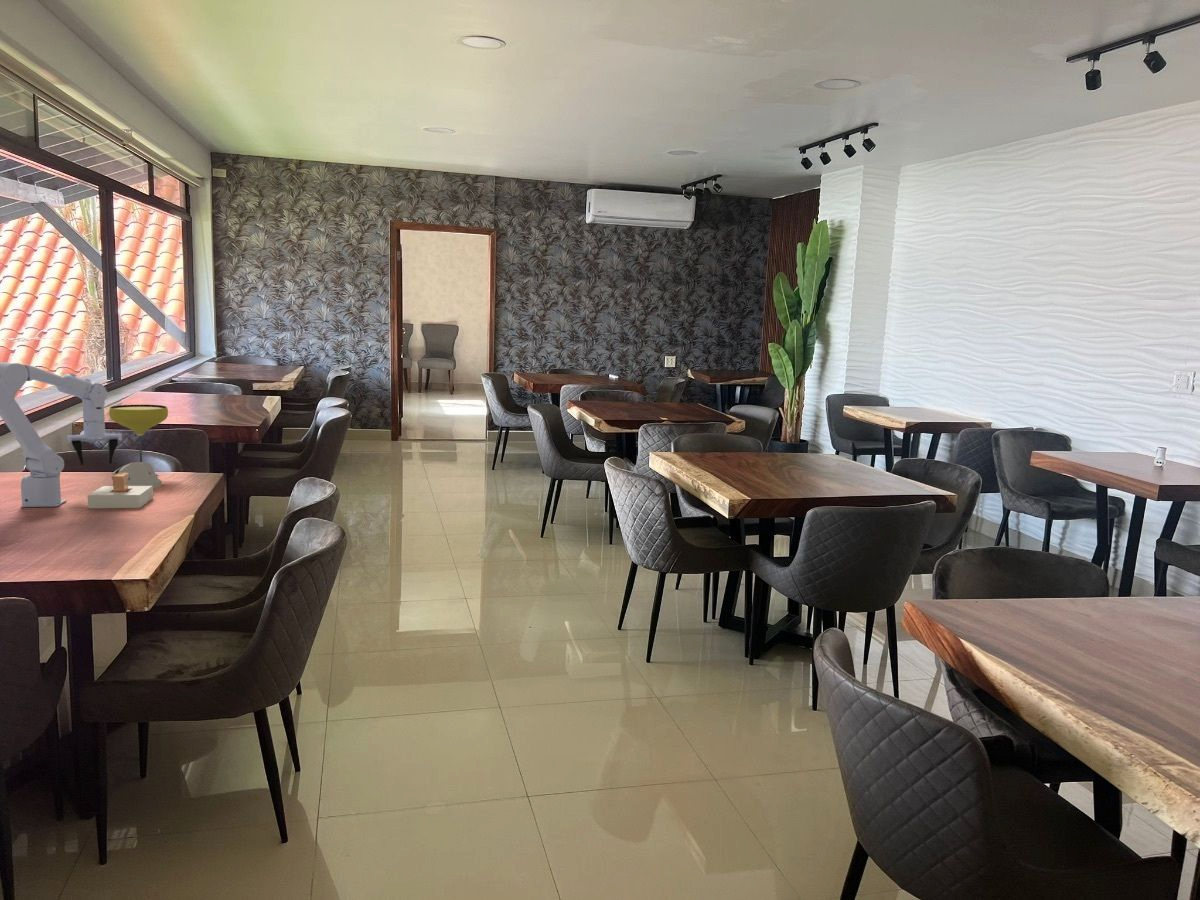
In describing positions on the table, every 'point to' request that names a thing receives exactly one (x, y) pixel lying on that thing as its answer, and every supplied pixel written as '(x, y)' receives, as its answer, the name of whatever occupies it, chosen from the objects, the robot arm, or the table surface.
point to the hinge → (140, 474)
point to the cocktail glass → (138, 418)
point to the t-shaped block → (120, 482)
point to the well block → (120, 497)
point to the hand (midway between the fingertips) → (96, 463)
